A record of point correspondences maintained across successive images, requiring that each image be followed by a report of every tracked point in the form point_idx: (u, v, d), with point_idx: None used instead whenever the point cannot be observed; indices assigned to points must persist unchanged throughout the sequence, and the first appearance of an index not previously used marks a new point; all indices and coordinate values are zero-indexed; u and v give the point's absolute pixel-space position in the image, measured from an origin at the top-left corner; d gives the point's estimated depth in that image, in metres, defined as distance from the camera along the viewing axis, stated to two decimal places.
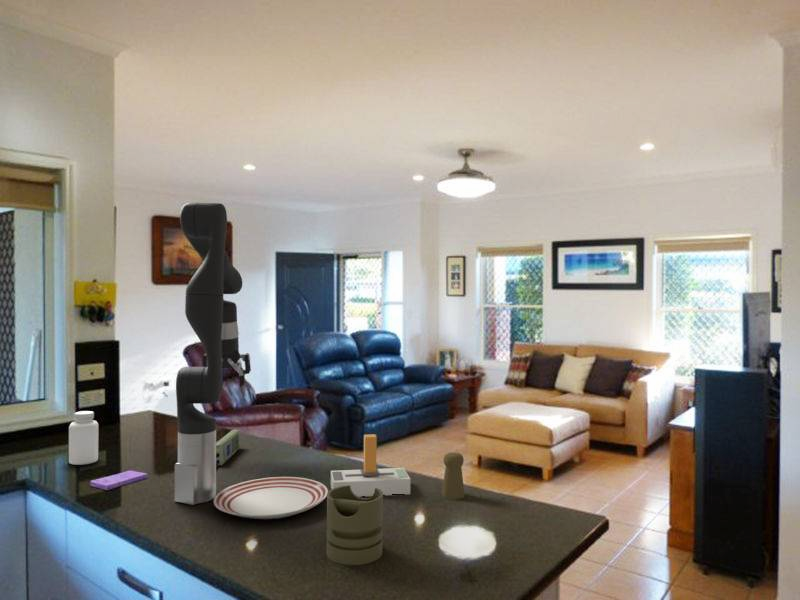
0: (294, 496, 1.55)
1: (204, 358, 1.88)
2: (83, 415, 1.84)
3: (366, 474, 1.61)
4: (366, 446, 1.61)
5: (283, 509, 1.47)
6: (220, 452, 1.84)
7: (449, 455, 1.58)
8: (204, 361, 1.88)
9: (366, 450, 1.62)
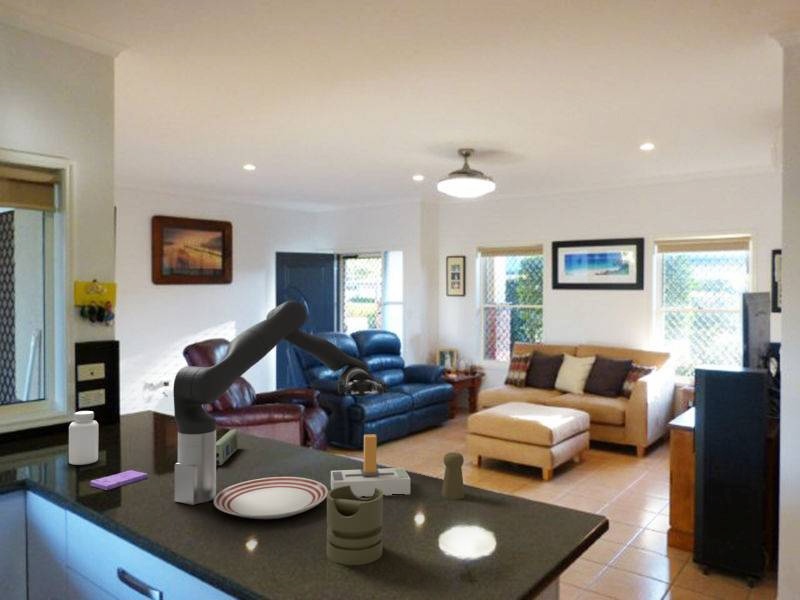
0: (294, 496, 1.55)
1: (340, 382, 1.82)
2: (83, 415, 1.84)
3: (366, 474, 1.61)
4: (366, 446, 1.61)
5: (283, 509, 1.47)
6: (220, 452, 1.84)
7: (449, 455, 1.58)
8: (340, 383, 1.81)
9: (366, 450, 1.62)
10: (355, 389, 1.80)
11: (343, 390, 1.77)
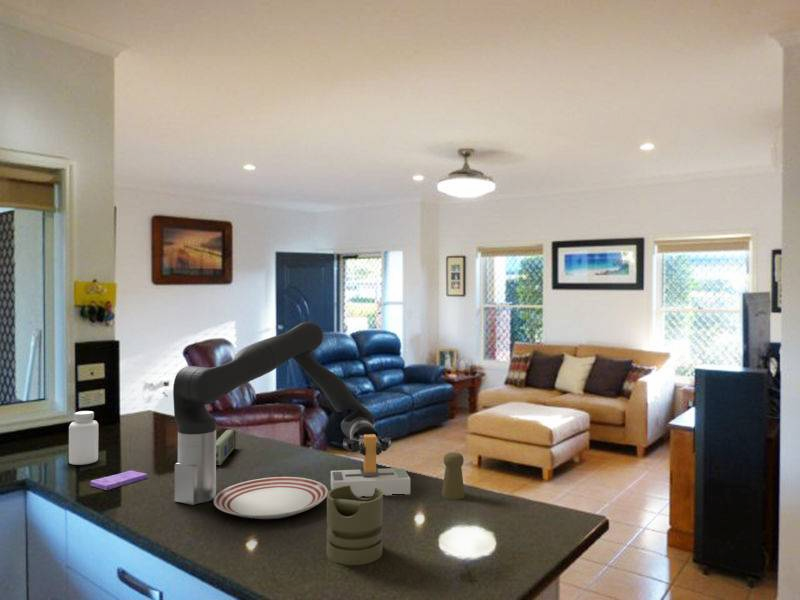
0: (294, 496, 1.55)
1: (345, 439, 1.68)
2: (83, 415, 1.84)
3: (366, 474, 1.61)
4: (366, 446, 1.61)
5: (283, 509, 1.47)
6: (219, 453, 1.84)
7: (449, 455, 1.58)
8: (347, 439, 1.67)
9: (366, 450, 1.62)
10: None
11: (356, 448, 1.64)
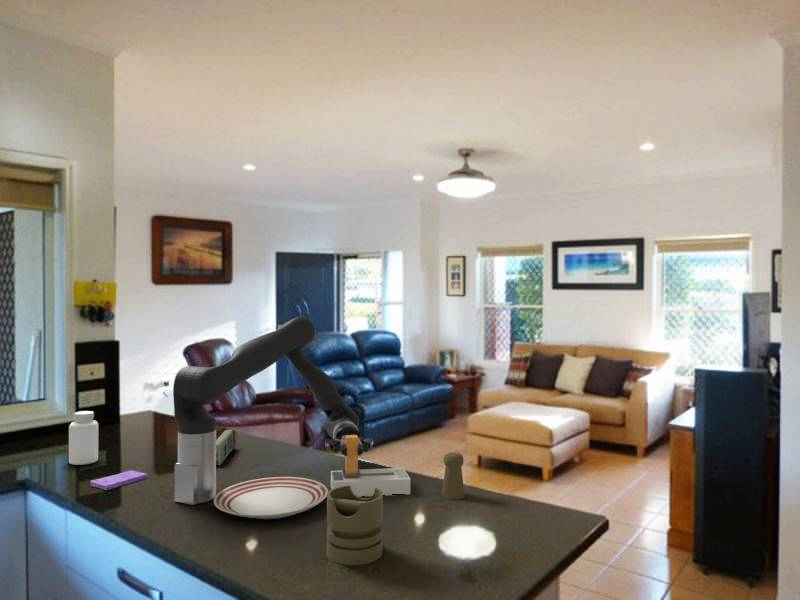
0: (294, 496, 1.55)
1: (327, 439, 1.67)
2: (83, 415, 1.84)
3: (347, 475, 1.60)
4: (347, 447, 1.61)
5: (283, 508, 1.47)
6: (218, 453, 1.84)
7: (449, 455, 1.58)
8: (329, 440, 1.66)
9: (347, 451, 1.61)
10: None
11: (338, 449, 1.63)
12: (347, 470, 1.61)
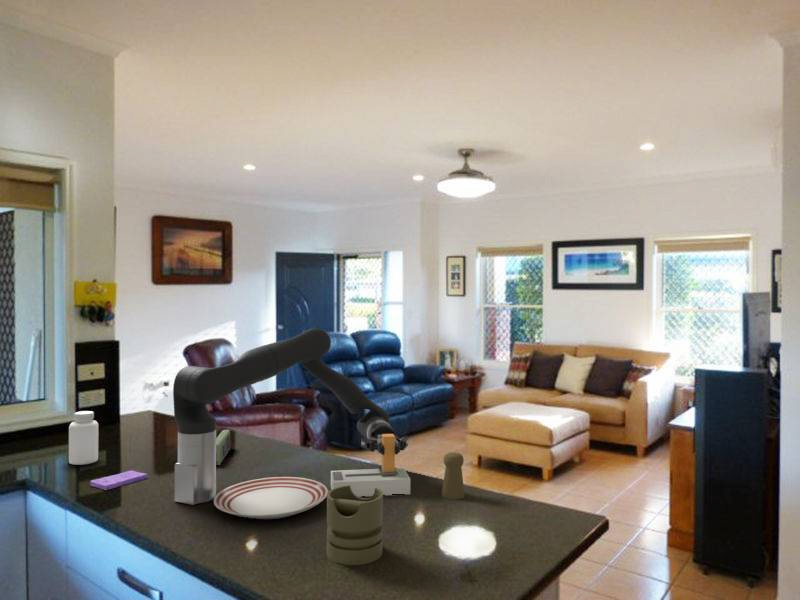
0: (294, 496, 1.55)
1: (363, 438, 1.69)
2: (83, 415, 1.84)
3: (384, 473, 1.62)
4: (384, 445, 1.62)
5: (283, 508, 1.47)
6: (218, 453, 1.84)
7: (449, 455, 1.58)
8: (365, 439, 1.68)
9: None
10: None
11: (375, 448, 1.65)
12: (384, 468, 1.62)
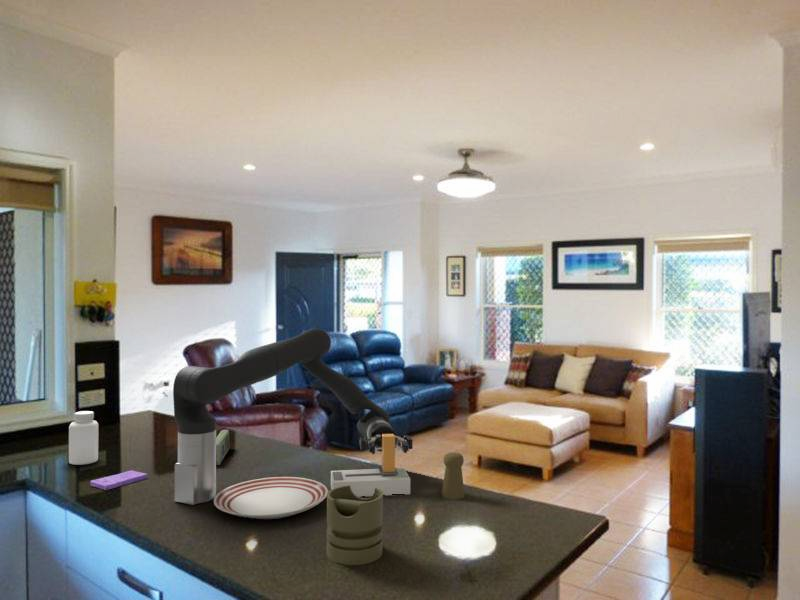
0: (294, 496, 1.55)
1: (361, 437, 1.70)
2: (83, 415, 1.84)
3: (385, 473, 1.62)
4: (385, 445, 1.62)
5: (284, 508, 1.47)
6: (217, 453, 1.84)
7: (449, 455, 1.58)
8: (362, 438, 1.69)
9: (385, 449, 1.62)
10: (378, 445, 1.68)
11: (366, 447, 1.65)
12: (384, 468, 1.62)
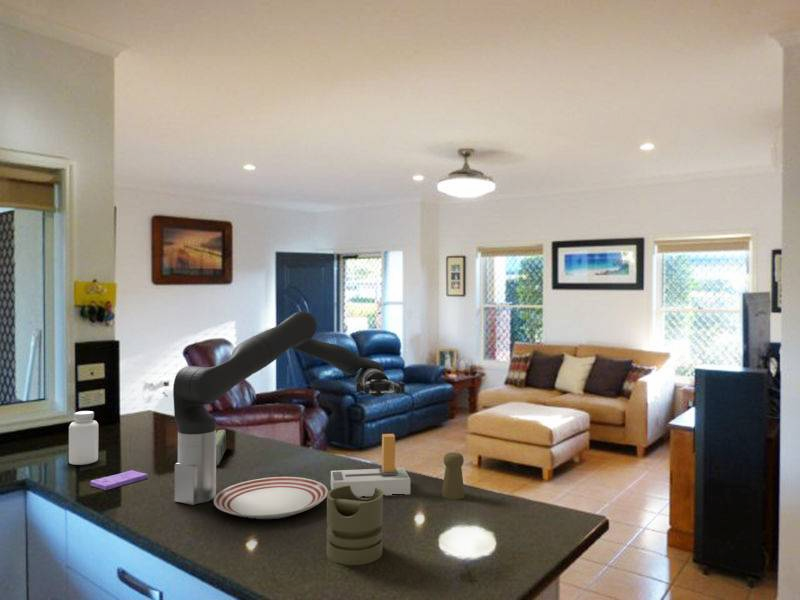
0: (294, 496, 1.55)
1: (357, 381, 1.83)
2: (83, 415, 1.84)
3: (385, 473, 1.62)
4: (385, 445, 1.62)
5: (284, 508, 1.47)
6: (216, 453, 1.84)
7: (449, 455, 1.58)
8: (357, 382, 1.82)
9: (385, 449, 1.62)
10: (372, 388, 1.81)
11: (361, 389, 1.78)
12: (384, 468, 1.62)
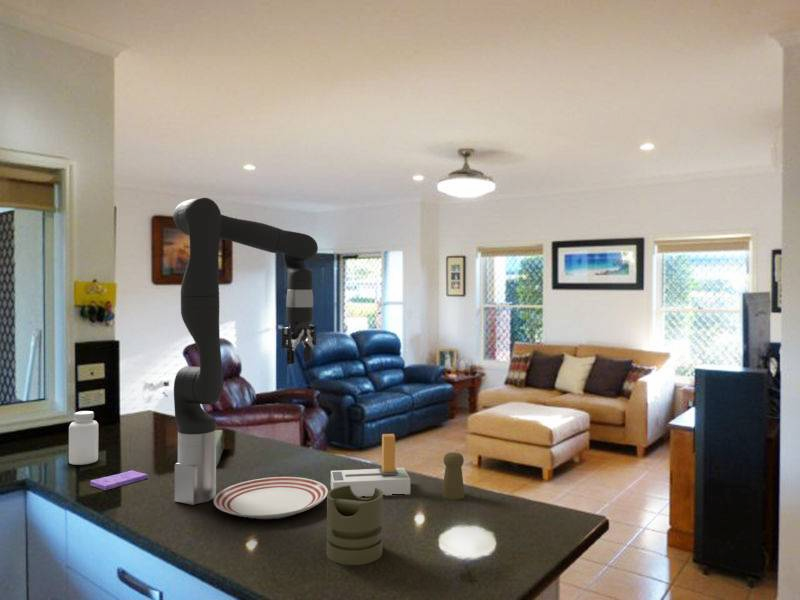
0: (294, 496, 1.55)
1: (290, 330, 1.69)
2: (83, 415, 1.84)
3: (385, 473, 1.62)
4: (385, 445, 1.62)
5: (284, 508, 1.47)
6: (216, 453, 1.84)
7: (449, 455, 1.58)
8: (290, 334, 1.69)
9: (385, 449, 1.62)
10: (294, 340, 1.74)
11: (287, 349, 1.70)
12: (384, 468, 1.62)
